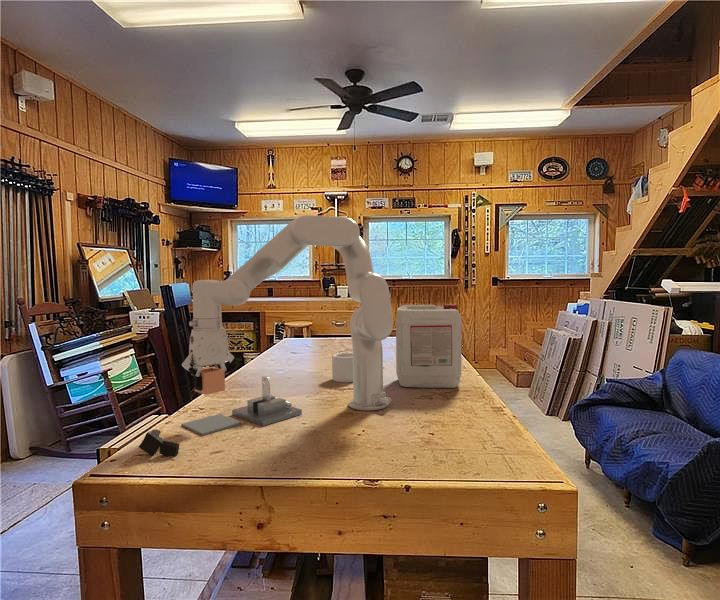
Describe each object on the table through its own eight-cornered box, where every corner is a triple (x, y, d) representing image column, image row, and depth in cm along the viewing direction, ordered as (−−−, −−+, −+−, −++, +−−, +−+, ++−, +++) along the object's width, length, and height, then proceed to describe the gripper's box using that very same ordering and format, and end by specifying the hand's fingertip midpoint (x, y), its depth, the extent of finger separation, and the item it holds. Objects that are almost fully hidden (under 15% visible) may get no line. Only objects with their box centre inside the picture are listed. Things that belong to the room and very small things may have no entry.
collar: (224, 390, 131) (224, 369, 131) (205, 394, 127) (204, 373, 126) (214, 387, 135) (213, 366, 135) (194, 391, 131) (193, 370, 130)
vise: (301, 414, 140) (300, 376, 139) (263, 426, 130) (261, 385, 129) (270, 404, 151) (269, 369, 150) (232, 414, 141) (230, 377, 140)
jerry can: (457, 377, 184) (457, 302, 182) (463, 389, 165) (463, 306, 163) (397, 377, 186) (396, 302, 184) (396, 389, 168) (395, 306, 166)
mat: (241, 424, 132) (241, 422, 132) (202, 435, 123) (202, 433, 123) (219, 415, 140) (219, 413, 140) (181, 425, 131) (181, 423, 131)
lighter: (173, 463, 112) (184, 444, 111) (168, 467, 110) (179, 448, 109) (143, 443, 113) (154, 424, 112) (138, 447, 110) (149, 427, 110)
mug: (359, 382, 178) (358, 357, 177) (331, 383, 178) (330, 357, 178) (360, 374, 192) (359, 350, 191) (334, 375, 192) (333, 351, 191)
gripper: (184, 328, 121) (186, 396, 122) (242, 322, 133) (243, 384, 135) (171, 325, 126) (173, 391, 127) (228, 320, 139) (229, 380, 140)
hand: (209, 386), depth 131 cm, fingers closed on collar, 6 cm apart
